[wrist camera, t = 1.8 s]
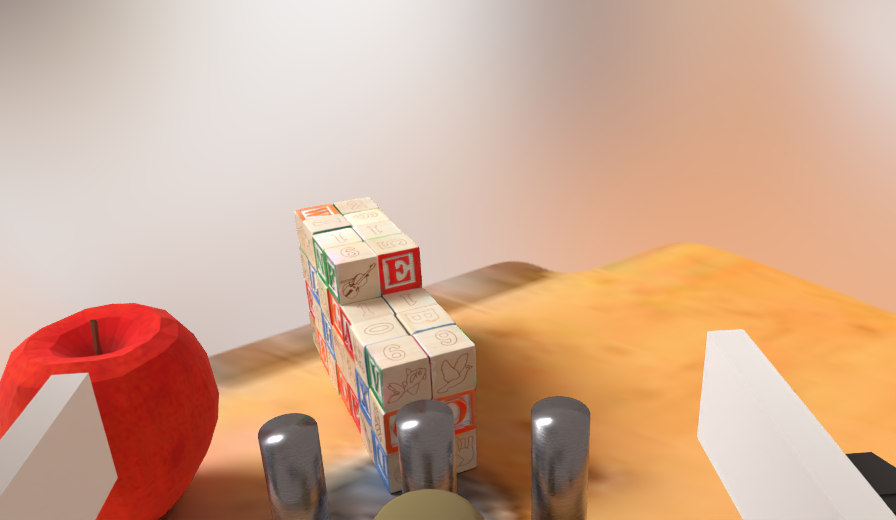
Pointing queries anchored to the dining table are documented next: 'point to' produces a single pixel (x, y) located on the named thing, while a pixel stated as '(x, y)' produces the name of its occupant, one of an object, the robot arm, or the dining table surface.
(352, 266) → the stack of blocks
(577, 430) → the spacer posts
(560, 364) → the dining table surface
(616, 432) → the dining table surface
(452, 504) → the cork
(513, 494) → the dining table surface
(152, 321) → the apple
